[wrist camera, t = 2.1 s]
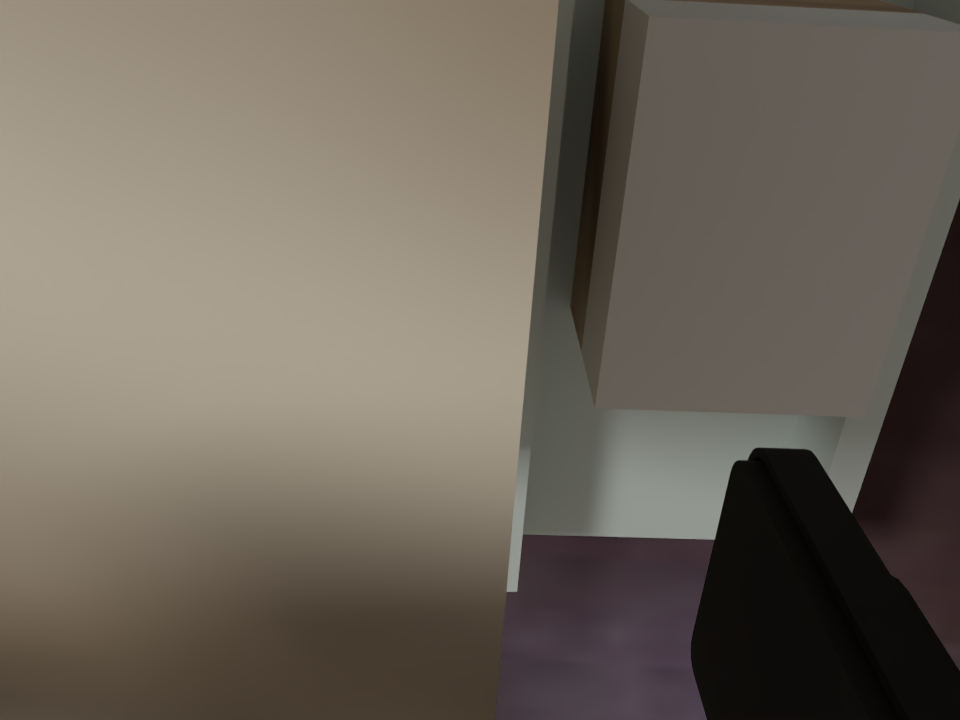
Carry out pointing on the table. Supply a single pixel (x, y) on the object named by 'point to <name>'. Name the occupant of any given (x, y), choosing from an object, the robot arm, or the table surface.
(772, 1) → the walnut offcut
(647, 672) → the table surface
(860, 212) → the grey offcut
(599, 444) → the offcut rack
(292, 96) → the birch sheet
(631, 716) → the table surface
